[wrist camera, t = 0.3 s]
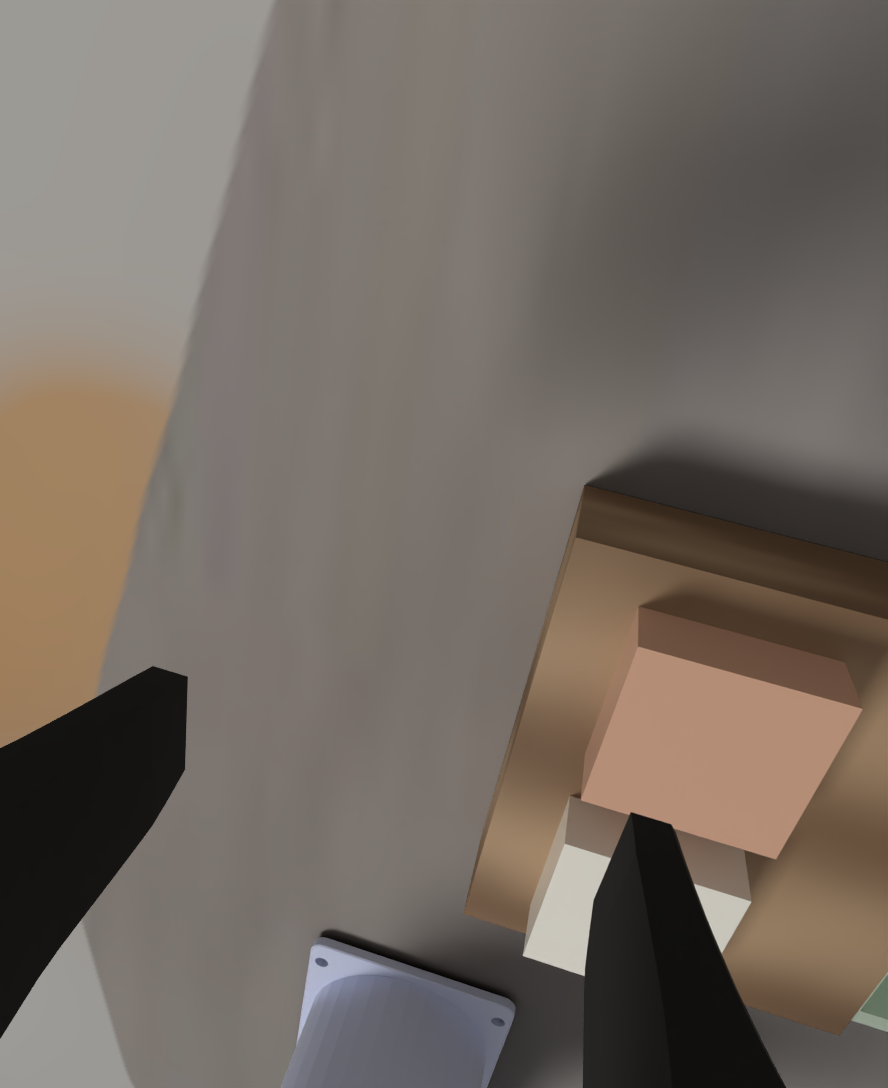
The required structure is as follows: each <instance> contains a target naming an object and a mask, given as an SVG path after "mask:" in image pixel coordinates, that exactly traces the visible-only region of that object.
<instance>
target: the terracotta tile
mask: <svg viewBox="0 0 888 1088" xmlns="http://www.w3.org/2000/svg"><path fill="white" fill-rule="evenodd" d="M862 710H863V708H862V705H861V703H860V700H859V698H858V695H857V692H856V690H855V687H854V685H853V682H852V680H851V677H850V675H849V672H848V669H847V667H846V664H845V662H842V661H838V660H835V659H831V658H827V657H824V656H820V655H816V654H813V653H809V652H805V651H801V650H798V649H794V648H790V647H787V646H783V645H779V644H776V643H772V642H768V641H765V640H761V639H757V638H754V637H750V636H746V635H743V634H739V633H735V632H732V631H728V630H724V629H720V628H717V627H713V626H709V625H706V624H702V623H698V622H695V621H691V620H687V619H684V618H680V617H676V616H673V615H669V614H665V613H662V612H658V611H654V610H650V609H647V608H643V607H639V606H638V609H637V612H636V614H635V617H634V620H633V623H632V625H631V628H630V631H629V634H628V636H627V639H626V642H625V645H624V647H623V650H622V653H621V656H620V659H619V661H618V664H617V667H616V670H615V672H614V675H613V678H612V681H611V683H610V686H609V689H608V692H607V694H606V697H605V700H604V703H603V706H602V708H601V711H600V714H599V717H598V719H597V722H596V725H595V728H594V730H593V733H592V736H591V739H590V741H589V744H588V747H587V750H586V753H585V760H584V771H583V781H582V792H581V801H584V802H588V803H591V804H594V805H597V806H601V807H604V808H607V809H611V810H614V811H617V812H621V813H624V814H627V815H630V813H631V812H633V813H636V814H639V815H643V816H646V817H649V818H652V819H656V820H659V821H662V822H665V823H669V824H671V825H672V826H673V828H674V829H677V830H680V831H683V832H687V833H690V834H693V835H697V836H700V837H703V838H707V839H710V840H713V841H716V842H720V843H723V844H726V845H730V846H733V847H736V848H740V849H743V850H746V851H750V852H753V853H756V854H759V855H763V856H766V857H769V858H773V859H777V857H778V855H779V853H780V852H781V850H782V848H783V847H784V845H785V843H786V841H787V840H788V838H789V836H790V834H791V833H792V831H793V829H794V827H795V826H796V824H797V822H798V821H799V819H800V817H801V815H802V814H803V812H804V810H805V808H806V807H807V805H808V803H809V802H810V800H811V798H812V796H813V795H814V793H815V791H816V789H817V788H818V786H819V784H820V782H821V781H822V779H823V777H824V776H825V774H826V772H827V770H828V769H829V767H830V765H831V763H832V762H833V760H834V758H835V756H836V755H837V753H838V751H839V750H840V748H841V746H842V744H843V743H844V741H845V739H846V737H847V736H848V734H849V732H850V731H851V729H852V727H853V725H854V724H855V722H856V720H857V718H858V717H859V715H860V713H861V711H862Z"/></svg>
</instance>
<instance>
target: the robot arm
mask: <svg viewBox="0 0 888 1088" xmlns="http://www.w3.org/2000/svg"><path fill="white" fill-rule="evenodd" d="M187 682H188V677H187V676H183V675H180V674H177V673H174V672H170V671H167V670H164V669H161V668H157V667H154V666H152V667H151V668H149V669H147V670H145V671H143V672H141V673H139V674H138V675H136V676H134V677H132V678H130V679H128V680H126V681H125V682H123V683H121V684H119V685H117V686H116V687H114V688H112V689H110V690H108V691H107V692H105V693H103V694H101V695H100V696H98V697H96V698H94V699H92V700H91V701H89V702H87V703H85V704H83V705H82V706H80V707H78V708H76V709H74V710H73V711H71V712H69V713H67V714H65V715H63V716H61V717H60V718H58V719H56V720H54V721H52V722H50V723H49V724H46V725H45V726H43V727H41V728H39V729H37V730H35V731H33V732H31V733H30V734H28V735H26V736H24V737H22V738H20V739H18V740H16V741H14V742H12V743H10V744H8V745H6V746H4V747H2V748H0V1038H1V1037H2V1035H3V1033H4V1032H5V1030H6V1029H7V1027H8V1025H9V1024H10V1022H11V1021H12V1019H13V1017H14V1016H15V1014H16V1013H17V1011H18V1010H19V1008H20V1007H21V1005H22V1003H23V1002H24V1000H25V998H26V997H27V995H28V994H29V992H30V991H31V989H32V987H33V986H34V984H35V982H36V981H37V979H38V978H39V976H40V975H41V974H42V972H43V971H44V969H45V968H46V966H47V965H48V964H49V962H50V961H51V959H52V958H53V957H54V955H55V954H56V952H57V951H58V950H59V948H60V947H61V945H62V944H63V943H64V941H65V940H66V939H67V938H68V936H69V935H70V934H71V932H72V931H73V930H74V928H75V927H76V926H77V924H78V923H79V922H80V921H81V919H82V918H83V917H84V915H85V914H86V913H87V911H88V910H89V909H90V907H91V906H92V905H93V904H94V902H95V901H96V900H97V898H98V897H99V896H100V894H101V893H102V892H103V890H104V889H105V888H106V886H107V885H108V884H109V883H110V881H111V880H112V879H113V877H114V876H115V875H116V873H117V872H118V871H119V869H120V868H121V867H122V865H123V864H124V863H125V861H126V860H127V859H128V857H129V856H130V855H131V853H132V852H133V851H134V849H135V848H136V847H137V845H138V844H139V843H140V841H141V840H142V839H143V837H144V836H145V835H146V833H147V832H148V831H149V829H150V828H151V827H152V825H153V823H154V822H155V820H156V818H157V817H158V815H159V813H160V812H161V810H162V808H163V807H164V805H165V804H166V802H167V800H168V798H169V797H170V795H171V793H172V791H173V790H174V788H175V786H176V784H177V783H178V781H179V779H180V777H181V776H182V774H183V772H184V770H185V748H186V715H187ZM514 1015H515V1005H514V1003H513V1002H512V1001H511V1000H509V999H507V998H505V997H502V996H499V995H496V994H493V993H490V992H487V991H484V990H481V989H478V988H475V987H472V986H470V985H467V984H464V983H461V982H458V981H455V980H452V979H449V978H446V977H443V976H440V975H437V974H434V973H431V972H428V971H425V970H422V969H419V968H416V967H413V966H410V965H407V964H404V963H401V962H398V961H395V960H392V959H389V958H386V957H383V956H380V955H377V954H374V953H371V952H368V951H365V950H362V949H359V948H356V947H353V946H350V945H347V944H344V943H341V942H338V941H335V940H332V939H329V938H325V937H320V938H317V939H315V941H314V943H313V946H312V948H311V953H310V959H309V966H308V972H307V979H306V985H305V992H304V999H303V1005H302V1012H301V1018H300V1025H299V1031H298V1038H297V1044H296V1048H295V1051H294V1053H293V1056H292V1058H291V1061H290V1064H289V1066H288V1069H287V1071H286V1074H285V1077H284V1079H283V1082H282V1085H281V1087H280V1088H487V1086H488V1084H489V1081H490V1079H491V1076H492V1073H493V1071H494V1068H495V1066H496V1063H497V1061H498V1058H499V1055H500V1053H501V1050H502V1048H503V1045H504V1043H505V1040H506V1037H507V1035H508V1032H509V1030H510V1027H511V1025H512V1022H513V1019H514ZM583 1088H786V1086H785V1085H784V1083H783V1081H782V1079H781V1077H780V1075H779V1073H778V1071H777V1069H776V1068H775V1066H774V1064H773V1062H772V1060H771V1058H770V1056H769V1054H768V1052H767V1050H766V1048H765V1046H764V1044H763V1042H762V1040H761V1038H760V1036H759V1034H758V1032H757V1030H756V1028H755V1026H754V1024H753V1022H752V1020H751V1018H750V1016H749V1013H748V1011H747V1009H746V1007H745V1005H744V1003H743V1001H742V999H741V997H740V994H739V992H738V990H737V988H736V986H735V983H734V981H733V979H732V977H731V974H730V972H729V970H728V967H727V965H726V963H725V960H724V958H723V956H722V953H721V951H720V949H719V946H718V944H717V942H716V939H715V937H714V935H713V932H712V930H711V927H710V925H709V922H708V920H707V917H706V915H705V912H704V910H703V907H702V904H701V902H700V899H699V896H698V894H697V891H696V889H695V886H694V883H693V880H692V878H691V875H690V872H689V869H688V866H687V864H686V861H685V858H684V855H683V852H682V849H681V846H680V843H679V840H678V837H677V834H676V831H675V830H674V828H673V826H672V825H671V824H669V823H665V822H662V821H659V820H656V819H652V818H649V817H646V816H643V815H639V814H636V813H633V812H631V813H630V815H629V818H628V820H627V822H626V825H625V827H624V829H623V832H622V834H621V836H620V839H619V841H618V843H617V846H616V848H615V851H614V853H613V855H612V858H611V860H610V862H609V865H608V867H607V869H606V872H605V874H604V877H603V879H602V881H601V884H600V886H599V888H598V891H597V893H596V895H595V898H594V900H593V908H592V915H591V923H590V930H589V938H588V947H587V955H586V964H585V988H584V1050H583Z"/></svg>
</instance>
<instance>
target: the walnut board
mask: <svg viewBox="0 0 888 1088" xmlns="http://www.w3.org/2000/svg"><path fill="white" fill-rule="evenodd" d="M638 606H639V607H643V608H647V609H650V610H654V611H658V612H662V613H665V614H669V615H673V616H676V617H680V618H684V619H687V620H691V621H695V622H698V623H702V624H706V625H709V626H713V627H717V628H720V629H724V630H728V631H732V632H735V633H739V634H743V635H746V636H750V637H754V638H757V639H761V640H765V641H768V642H772V643H776V644H779V645H783V646H787V647H790V648H794V649H798V650H801V651H805V652H809V653H813V654H816V655H820V656H824V657H827V658H831V659H835V660H838V661H842V662H845V664H846V667H847V669H848V672H849V675H850V677H851V680H852V682H853V685H854V687H855V690H856V692H857V695H858V698H859V700H860V703H861V705H862V708H863V710H862V711H861V713H860V715H859V717H858V718H857V720H856V722H855V724H854V725H853V727H852V729H851V731H850V732H849V734H848V736H847V737H846V739H845V741H844V743H843V744H842V746H841V748H840V750H839V751H838V753H837V755H836V756H835V758H834V760H833V762H832V763H831V765H830V767H829V769H828V770H827V772H826V774H825V776H824V777H823V779H822V781H821V782H820V784H819V786H818V788H817V789H816V791H815V793H814V795H813V796H812V798H811V800H810V802H809V803H808V805H807V807H806V808H805V810H804V812H803V814H802V815H801V817H800V819H799V821H798V822H797V824H796V826H795V827H794V829H793V831H792V833H791V834H790V836H789V838H788V840H787V841H786V843H785V845H784V847H783V848H782V850H781V852H780V853H779V855H778V857H777V859H773V858H769V857H766V856H763V855H759V854H756V853H753V852H750V851H746V850H744V852H745V859H746V866H747V873H748V880H749V887H750V894H751V901H752V902H751V904H750V905H749V907H748V909H747V911H746V912H745V914H744V916H743V918H742V919H741V921H740V923H739V924H738V926H737V928H736V930H735V931H734V933H733V935H732V937H731V938H730V940H729V942H728V943H727V945H726V947H725V949H724V950H723V952H722V956H723V958H724V960H725V963H726V965H727V967H728V970H729V972H730V974H731V977H732V979H733V981H734V983H735V986H736V988H737V990H738V992H739V994H740V997H741V999H742V1001H743V1003H744V1005H746V1006H749V1007H752V1008H755V1009H758V1010H762V1011H765V1012H768V1013H771V1014H774V1015H777V1016H780V1017H783V1018H786V1019H789V1020H792V1021H795V1022H798V1023H802V1024H805V1025H808V1026H811V1027H814V1028H817V1029H820V1030H823V1031H826V1032H829V1033H832V1034H835V1035H840V1034H841V1033H842V1031H843V1030H844V1029H845V1027H846V1026H847V1025H848V1023H849V1022H850V1021H851V1020H852V1018H853V1017H854V1016H855V1014H856V1013H857V1012H858V1010H859V1009H860V1008H861V1006H862V1005H863V1004H864V1003H865V1001H866V1000H867V999H868V997H869V996H870V995H871V993H872V992H873V991H874V989H875V988H876V987H877V985H878V984H879V983H880V982H881V980H882V979H883V978H884V976H885V975H886V974H887V972H888V562H884V561H880V560H877V559H873V558H869V557H865V556H861V555H857V554H853V553H849V552H845V551H841V550H837V549H834V548H830V547H826V546H822V545H818V544H814V543H810V542H806V541H802V540H798V539H794V538H791V537H787V536H783V535H779V534H775V533H771V532H767V531H763V530H759V529H755V528H752V527H748V526H744V525H740V524H736V523H732V522H728V521H724V520H720V519H716V518H712V517H709V516H705V515H701V514H697V513H693V512H689V511H685V510H681V509H677V508H673V507H669V506H666V505H662V504H658V503H654V502H650V501H646V500H642V499H638V498H634V497H630V496H626V495H623V494H619V493H615V492H611V491H607V490H603V489H599V488H595V487H591V486H587V485H584V489H583V492H582V496H581V499H580V502H579V506H578V509H577V513H576V516H575V520H574V523H573V526H572V530H571V533H570V537H569V540H568V543H567V547H566V550H565V554H564V557H563V560H562V564H561V567H560V571H559V574H558V577H557V581H556V584H555V588H554V591H553V594H552V598H551V601H550V605H549V608H548V611H547V615H546V618H545V622H544V625H543V628H542V632H541V635H540V639H539V642H538V645H537V649H536V652H535V656H534V659H533V662H532V666H531V669H530V673H529V676H528V680H527V683H526V686H525V690H524V693H523V697H522V700H521V703H520V707H519V710H518V714H517V717H516V720H515V724H514V727H513V731H512V734H511V737H510V741H509V744H508V748H507V751H506V754H505V758H504V761H503V765H502V768H501V771H500V775H499V778H498V782H497V785H496V788H495V792H494V795H493V799H492V802H491V805H490V809H489V812H488V816H487V819H486V822H485V826H484V829H483V833H482V836H481V840H480V845H479V849H478V853H477V858H476V862H475V866H474V870H473V875H472V879H471V883H470V888H469V892H468V896H467V900H466V905H465V909H464V913H463V914H466V915H469V916H472V917H475V918H478V919H481V920H484V921H487V922H490V923H494V924H497V925H500V926H503V927H506V928H509V929H512V930H515V931H518V932H521V933H524V934H526V930H527V924H528V917H529V910H530V905H531V902H532V899H533V896H534V894H535V891H536V888H537V885H538V882H539V880H540V877H541V874H542V871H543V869H544V866H545V863H546V860H547V858H548V855H549V852H550V849H551V847H552V844H553V841H554V838H555V835H556V833H557V830H558V827H559V824H560V822H561V819H562V816H563V813H564V811H565V808H566V805H567V802H568V800H569V797H570V796H573V797H576V798H579V799H581V792H582V781H583V771H584V760H585V753H586V750H587V747H588V744H589V741H590V739H591V736H592V733H593V730H594V728H595V725H596V722H597V719H598V717H599V714H600V711H601V708H602V706H603V703H604V700H605V697H606V694H607V692H608V689H609V686H610V683H611V681H612V678H613V675H614V672H615V670H616V667H617V664H618V661H619V659H620V656H621V653H622V650H623V647H624V645H625V642H626V639H627V636H628V634H629V631H630V628H631V625H632V623H633V620H634V617H635V614H636V612H637V609H638Z"/></svg>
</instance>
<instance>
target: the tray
mask: <svg viewBox="0 0 888 1088" xmlns="http://www.w3.org/2000/svg"><path fill="white" fill-rule="evenodd" d="M852 1021H855V1022H858V1023H861V1024H864V1025H867V1026H870V1027H873V1028H876V1029H880V1030H883V1031H886V1032H888V972H887V974H886V975H885V976H884V978H883V979H882V980H881V982H880V983H879V984H878V985H877V987H876V988H875V989H874V991H873V992H872V993H871V995H870V996H869V997H868V999H867V1000H866V1001H865V1003H864V1004H863V1005H862V1006H861V1008H860V1009H859V1010H858V1012H857V1013H856V1014H855V1016H854V1017H853V1018H852Z"/></svg>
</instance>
